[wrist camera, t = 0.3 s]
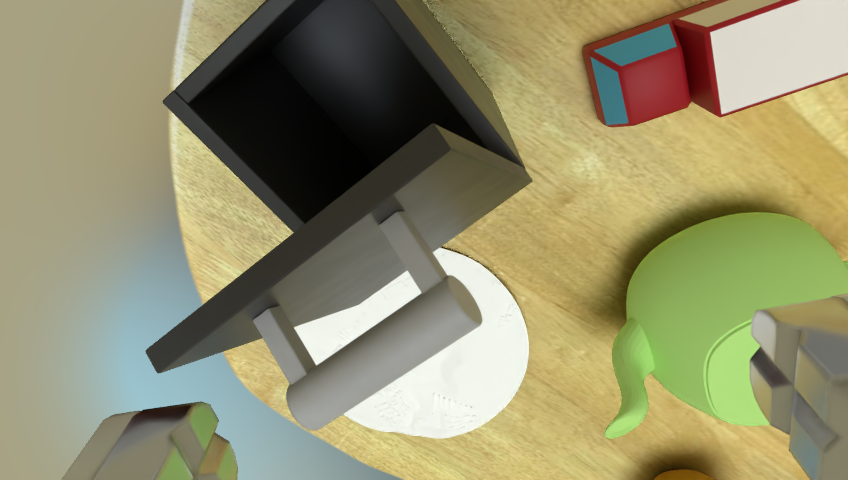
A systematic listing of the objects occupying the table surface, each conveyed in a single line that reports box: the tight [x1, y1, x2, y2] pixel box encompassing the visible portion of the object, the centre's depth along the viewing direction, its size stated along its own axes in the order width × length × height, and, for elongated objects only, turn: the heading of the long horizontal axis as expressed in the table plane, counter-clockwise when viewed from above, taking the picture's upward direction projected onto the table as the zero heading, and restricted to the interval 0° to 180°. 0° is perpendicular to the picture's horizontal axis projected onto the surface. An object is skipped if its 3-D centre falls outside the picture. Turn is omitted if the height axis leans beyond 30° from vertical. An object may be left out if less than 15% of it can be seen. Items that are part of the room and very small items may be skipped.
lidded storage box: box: [163, 0, 526, 232], centre depth 33 cm, size 13×11×16 cm
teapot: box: [605, 212, 848, 439], centre depth 42 cm, size 22×15×13 cm
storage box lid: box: [146, 123, 532, 430], centre depth 21 cm, size 13×11×5 cm
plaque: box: [295, 248, 529, 438], centre depth 50 cm, size 20×20×2 cm
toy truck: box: [582, 0, 848, 127], centre depth 36 cm, size 6×15×7 cm, turn 110°
